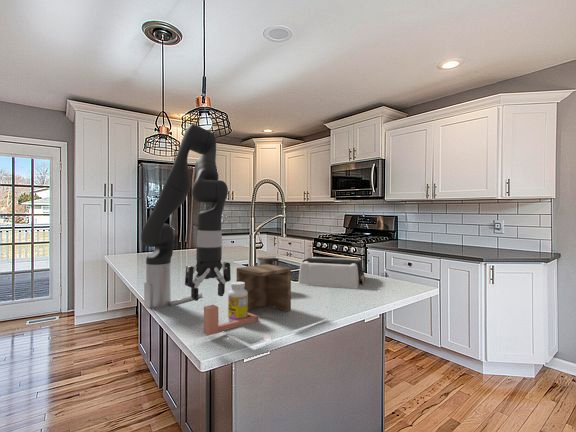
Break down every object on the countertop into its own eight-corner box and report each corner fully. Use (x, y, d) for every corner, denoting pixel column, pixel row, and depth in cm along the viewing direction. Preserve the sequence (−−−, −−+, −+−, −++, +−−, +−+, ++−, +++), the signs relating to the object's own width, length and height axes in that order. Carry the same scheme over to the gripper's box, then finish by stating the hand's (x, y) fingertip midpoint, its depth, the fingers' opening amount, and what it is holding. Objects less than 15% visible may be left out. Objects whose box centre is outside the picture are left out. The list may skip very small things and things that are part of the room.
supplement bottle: (224, 319, 113) (224, 282, 113) (241, 315, 117) (241, 280, 117) (233, 324, 108) (233, 285, 108) (251, 320, 112) (251, 283, 112)
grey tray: (367, 280, 185) (367, 258, 185) (361, 293, 154) (361, 266, 154) (307, 276, 196) (307, 255, 196) (291, 287, 165) (291, 263, 165)
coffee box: (276, 290, 158) (276, 257, 158) (279, 293, 152) (279, 258, 152) (257, 291, 155) (257, 257, 155) (259, 294, 149) (259, 259, 149)
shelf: (259, 319, 113) (259, 272, 113) (236, 310, 123) (236, 268, 123) (290, 311, 124) (290, 268, 123) (267, 303, 134) (267, 264, 134)
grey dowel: (169, 301, 132) (169, 306, 131) (172, 301, 131) (172, 305, 131) (199, 293, 145) (199, 297, 145) (201, 293, 144) (202, 297, 144)
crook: (209, 335, 98) (209, 308, 98) (195, 328, 104) (195, 303, 104) (260, 321, 112) (260, 297, 112) (245, 315, 118) (245, 293, 118)
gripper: (193, 247, 92) (192, 304, 93) (235, 244, 102) (234, 296, 102) (181, 245, 98) (180, 299, 98) (223, 243, 108) (222, 292, 108)
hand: (208, 297), depth 100 cm, fingers open, 8 cm apart
